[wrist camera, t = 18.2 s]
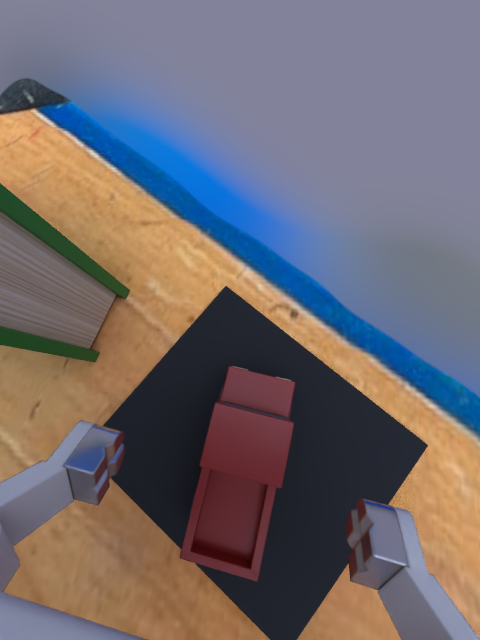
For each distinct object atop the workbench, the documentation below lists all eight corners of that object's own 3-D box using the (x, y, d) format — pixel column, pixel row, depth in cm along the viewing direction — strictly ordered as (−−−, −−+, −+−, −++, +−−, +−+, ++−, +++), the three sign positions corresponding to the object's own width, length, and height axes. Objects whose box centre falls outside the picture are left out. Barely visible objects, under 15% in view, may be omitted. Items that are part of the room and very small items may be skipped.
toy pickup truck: (260, 545, 25) (263, 616, 17) (189, 525, 25) (161, 585, 17) (292, 383, 27) (309, 380, 20) (228, 367, 28) (219, 358, 20)
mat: (285, 651, 23) (286, 655, 23) (84, 448, 27) (82, 449, 27) (425, 444, 26) (428, 445, 26) (226, 287, 30) (226, 285, 30)
